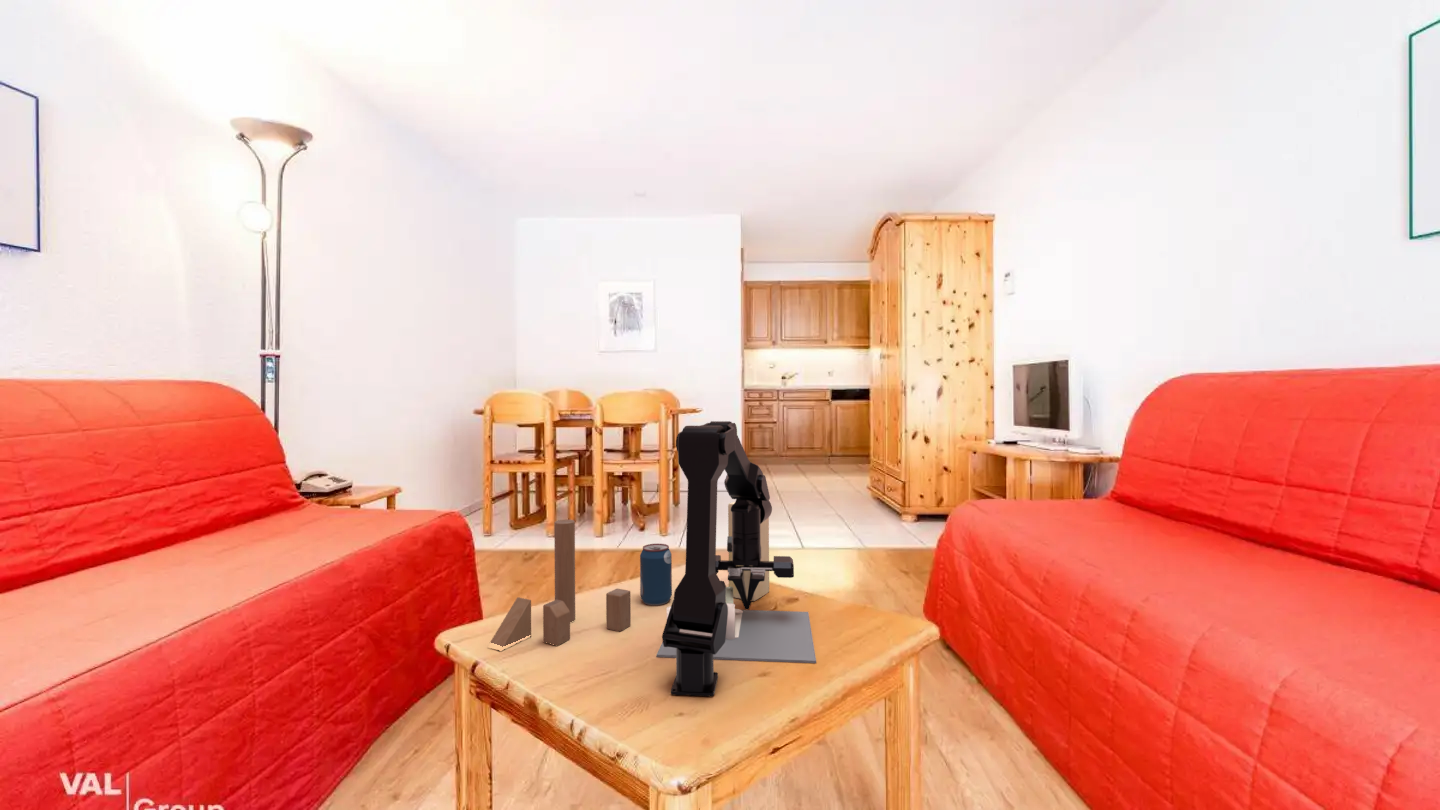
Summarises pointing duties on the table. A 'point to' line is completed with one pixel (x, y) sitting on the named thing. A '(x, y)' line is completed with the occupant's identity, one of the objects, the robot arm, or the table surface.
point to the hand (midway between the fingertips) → (746, 608)
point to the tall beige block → (764, 540)
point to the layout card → (761, 637)
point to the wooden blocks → (561, 599)
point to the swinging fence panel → (729, 595)
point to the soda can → (655, 574)
